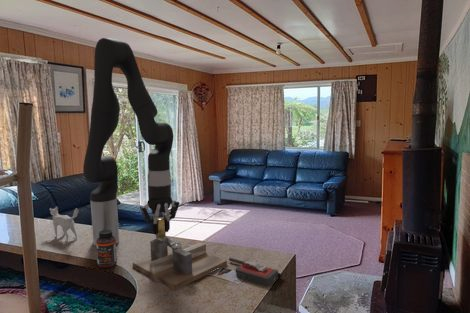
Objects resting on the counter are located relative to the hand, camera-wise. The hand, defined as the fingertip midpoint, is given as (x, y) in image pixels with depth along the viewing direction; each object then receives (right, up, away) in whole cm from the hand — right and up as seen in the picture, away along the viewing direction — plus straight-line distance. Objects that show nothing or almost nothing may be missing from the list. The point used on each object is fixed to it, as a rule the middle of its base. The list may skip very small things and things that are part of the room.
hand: (160, 232), depth 117 cm
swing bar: (+3, -3, -3) cm, 6 cm away
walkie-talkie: (+30, -11, -11) cm, 34 cm away
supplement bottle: (-17, -10, -4) cm, 20 cm away
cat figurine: (-42, -7, +20) cm, 47 cm away
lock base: (+7, -10, -6) cm, 13 cm away
